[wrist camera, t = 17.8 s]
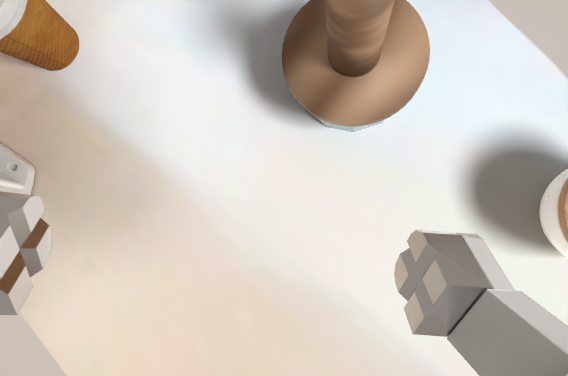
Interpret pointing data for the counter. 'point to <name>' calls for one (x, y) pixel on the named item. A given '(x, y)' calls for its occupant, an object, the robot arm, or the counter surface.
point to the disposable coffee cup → (36, 34)
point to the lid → (355, 59)
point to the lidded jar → (556, 213)
